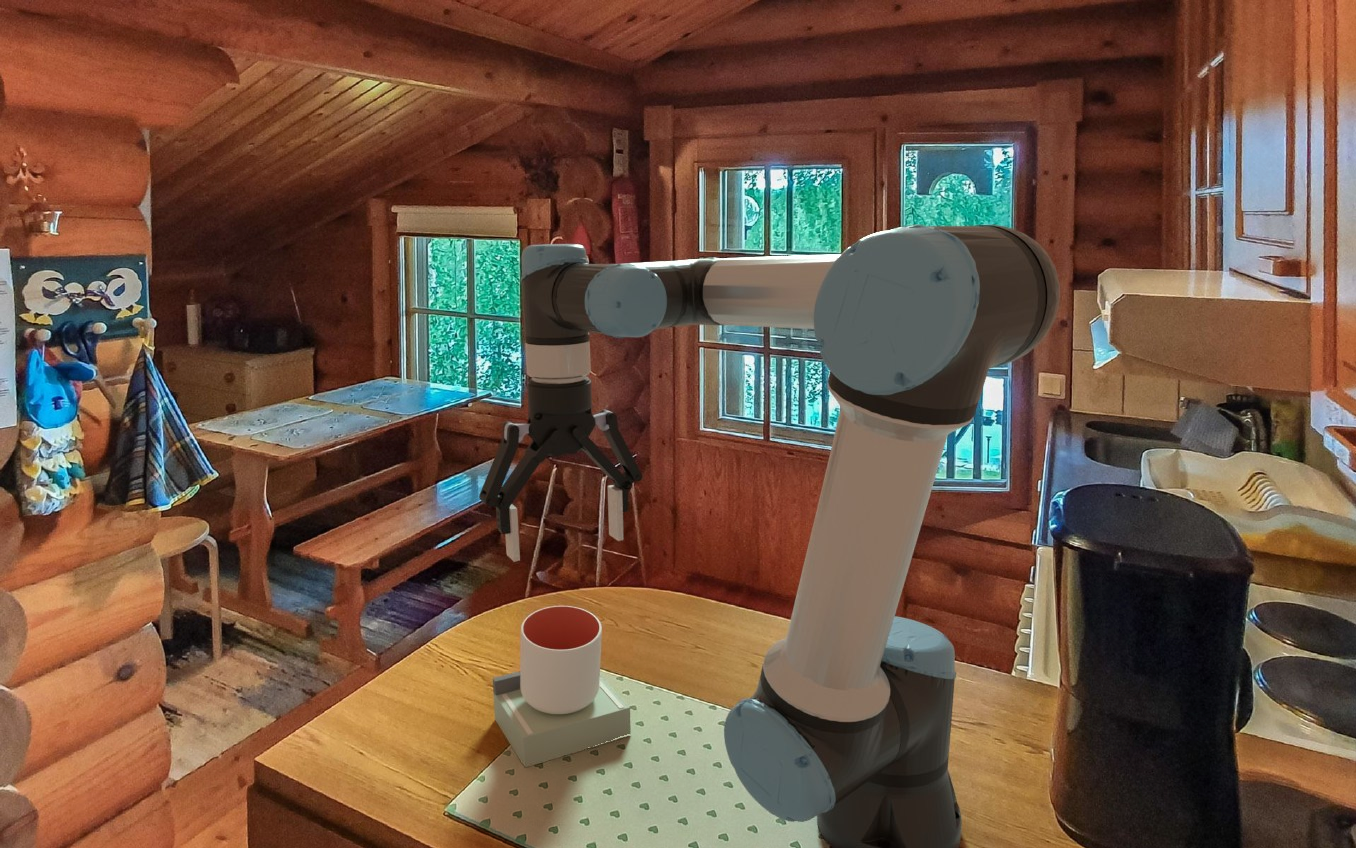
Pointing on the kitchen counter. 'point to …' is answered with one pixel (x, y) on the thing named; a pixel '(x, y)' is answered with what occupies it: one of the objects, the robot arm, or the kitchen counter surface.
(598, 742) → the dock
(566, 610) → the cup
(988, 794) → the kitchen counter surface
